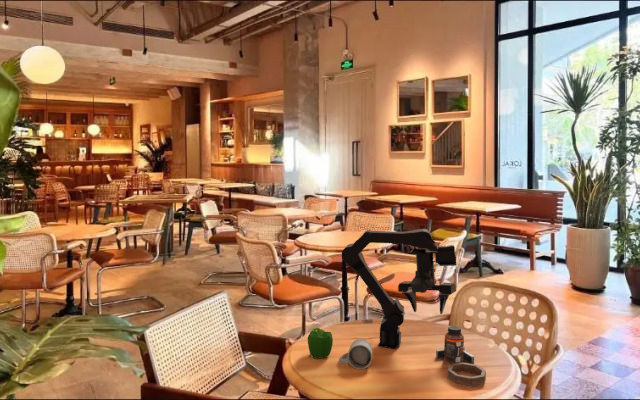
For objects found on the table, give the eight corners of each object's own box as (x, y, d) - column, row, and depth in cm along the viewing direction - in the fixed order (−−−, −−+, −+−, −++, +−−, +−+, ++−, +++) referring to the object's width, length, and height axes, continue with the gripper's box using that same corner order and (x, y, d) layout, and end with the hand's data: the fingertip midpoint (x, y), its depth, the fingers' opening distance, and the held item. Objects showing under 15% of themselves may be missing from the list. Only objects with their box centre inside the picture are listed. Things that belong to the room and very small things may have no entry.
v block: (473, 364, 162) (473, 357, 162) (435, 358, 167) (435, 350, 167) (477, 355, 170) (477, 348, 169) (440, 349, 175) (440, 342, 174)
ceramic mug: (372, 359, 166) (372, 336, 166) (372, 370, 158) (372, 345, 158) (339, 358, 168) (339, 335, 167) (337, 368, 160) (337, 344, 159)
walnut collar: (445, 382, 150) (445, 373, 150) (452, 368, 160) (452, 360, 159) (482, 389, 146) (482, 380, 146) (486, 374, 155) (487, 366, 155)
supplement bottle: (463, 366, 161) (464, 331, 160) (444, 364, 162) (445, 330, 161) (462, 359, 167) (463, 325, 166) (443, 357, 168) (444, 323, 167)
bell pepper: (327, 349, 174) (327, 320, 173) (336, 358, 167) (336, 329, 166) (303, 352, 171) (303, 323, 170) (311, 362, 164) (311, 332, 163)
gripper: (389, 269, 172) (392, 316, 172) (444, 271, 162) (447, 320, 162) (403, 264, 181) (406, 309, 181) (455, 265, 171) (458, 312, 171)
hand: (428, 312), depth 173 cm, fingers open, 9 cm apart
